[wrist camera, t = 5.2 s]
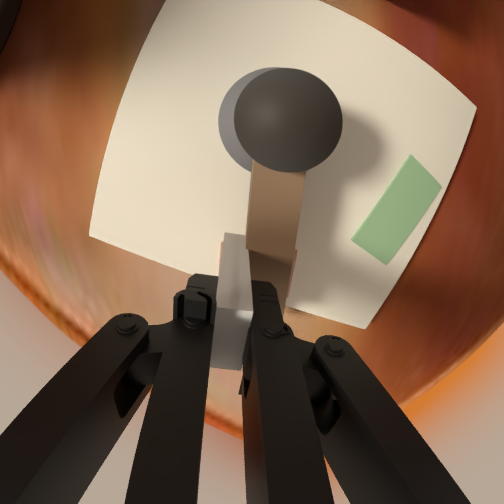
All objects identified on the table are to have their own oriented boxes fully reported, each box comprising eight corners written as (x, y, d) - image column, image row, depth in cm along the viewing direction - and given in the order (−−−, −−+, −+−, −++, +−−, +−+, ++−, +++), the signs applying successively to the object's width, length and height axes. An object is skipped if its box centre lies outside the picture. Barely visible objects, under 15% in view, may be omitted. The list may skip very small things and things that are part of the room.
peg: (241, 81, 13) (239, 62, 9) (319, 91, 13) (347, 78, 9) (224, 312, 18) (219, 361, 14) (286, 316, 18) (295, 364, 14)
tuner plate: (96, 234, 17) (85, 243, 16) (191, -28, 11) (187, -38, 9) (357, 323, 21) (363, 336, 19) (466, 106, 14) (479, 107, 12)
